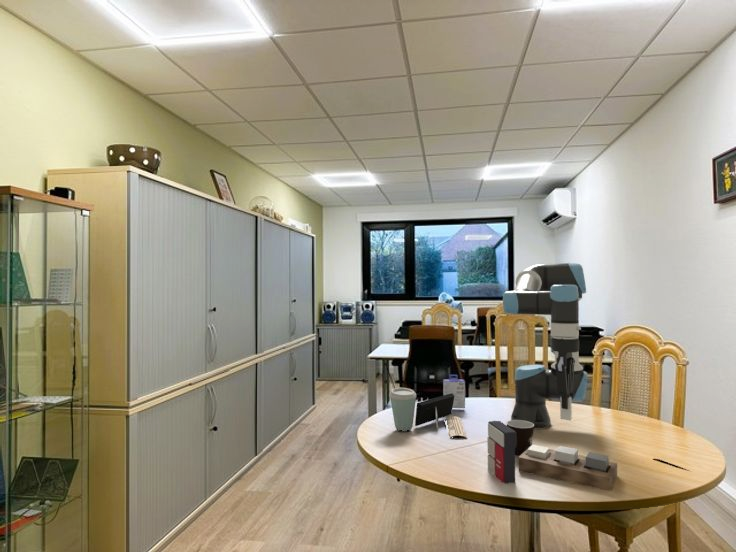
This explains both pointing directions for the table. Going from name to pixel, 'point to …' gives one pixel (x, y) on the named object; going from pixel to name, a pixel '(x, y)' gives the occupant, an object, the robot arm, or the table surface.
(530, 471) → the brown wooden block holder
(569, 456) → the key grey
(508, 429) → the grey and red box
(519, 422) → the coffee mug
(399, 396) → the disposable coffee cup
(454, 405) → the ink cartridge box
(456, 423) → the tan curved ridged slab
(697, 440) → the table surface
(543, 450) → the key white
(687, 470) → the pen
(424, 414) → the picture frame
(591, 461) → the key charcoal
